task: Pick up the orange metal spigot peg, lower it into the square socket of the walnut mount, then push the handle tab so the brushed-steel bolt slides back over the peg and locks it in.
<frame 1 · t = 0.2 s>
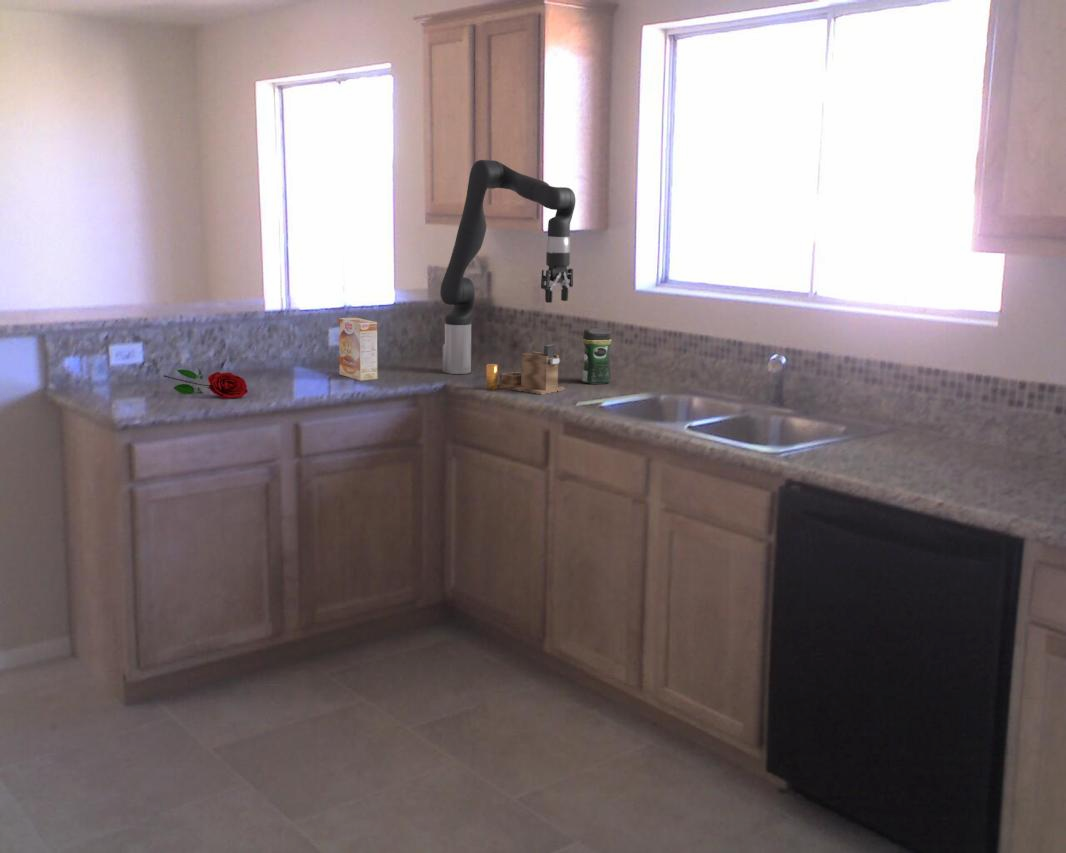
hand: (556, 301, 365), 29 cm above the worktop, fingers open, 8 cm apart
coffeecake box: (358, 377, 385), on the worktop
peg: (491, 389, 368), on the worktop
bolt: (541, 352, 365), point 12 cm above the worktop, slide at 0.0 cm
flower: (203, 395, 347), on the worktop
coffee jar: (595, 383, 385), on the worktop
mount: (523, 387, 372), on the worktop
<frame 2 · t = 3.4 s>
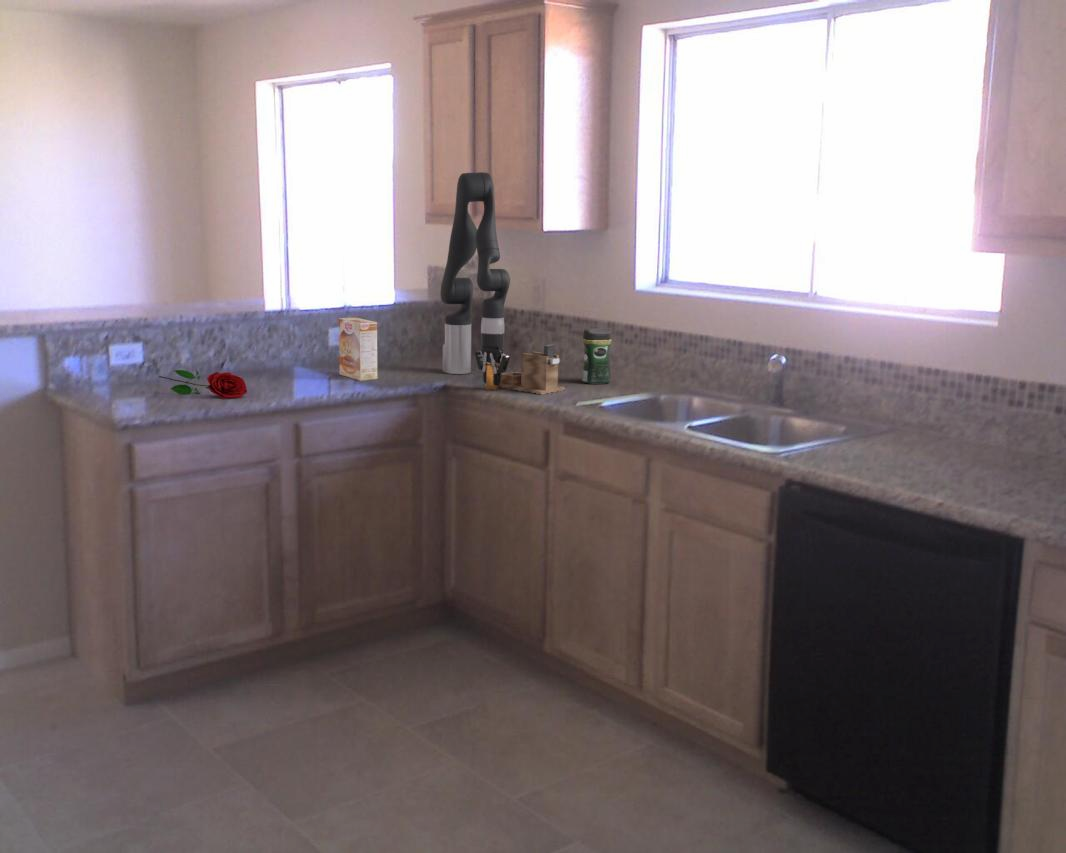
hand: (491, 383, 367), 2 cm above the worktop, fingers closed on peg, 3 cm apart
peg: (491, 389, 368), on the worktop, touching gripper
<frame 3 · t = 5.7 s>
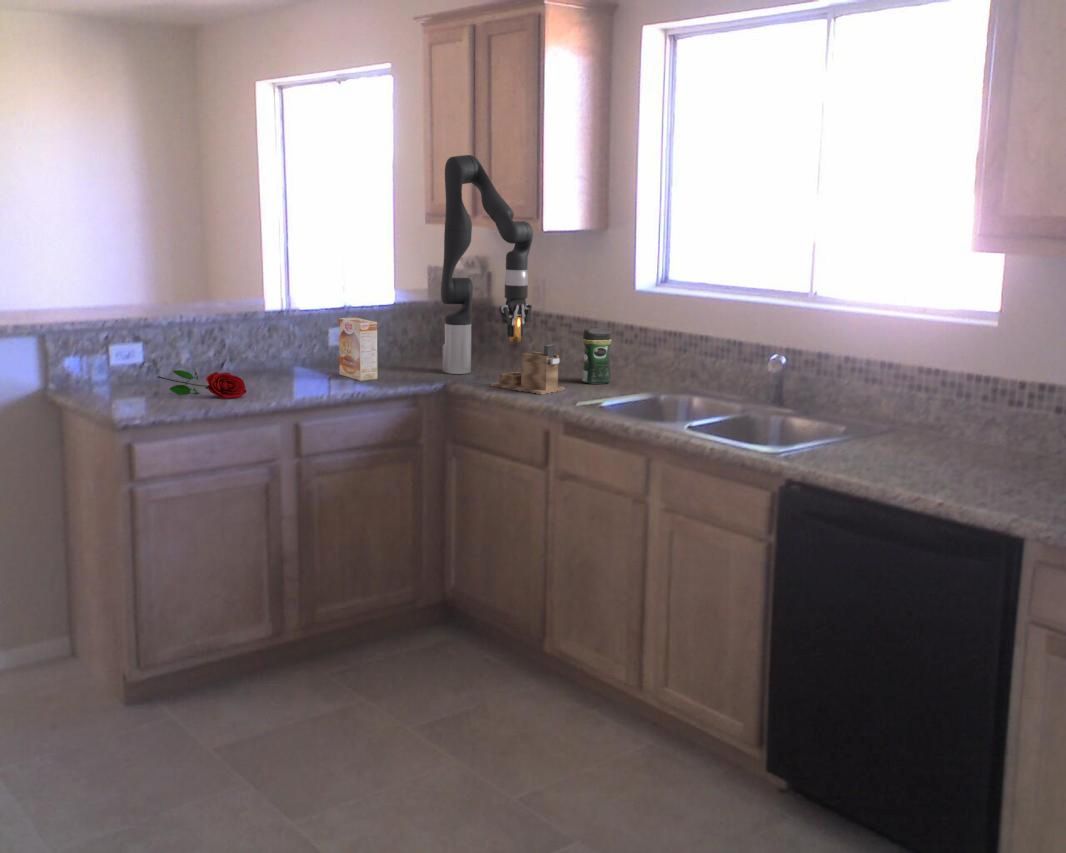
hand: (515, 336, 371), 17 cm above the worktop, fingers closed on peg, 3 cm apart
peg: (515, 341, 371), point 15 cm above the worktop, touching gripper
when the fingers open (5 cm above the worktop, at t = 8.1 s): peg drops 2 cm, resting on mount.
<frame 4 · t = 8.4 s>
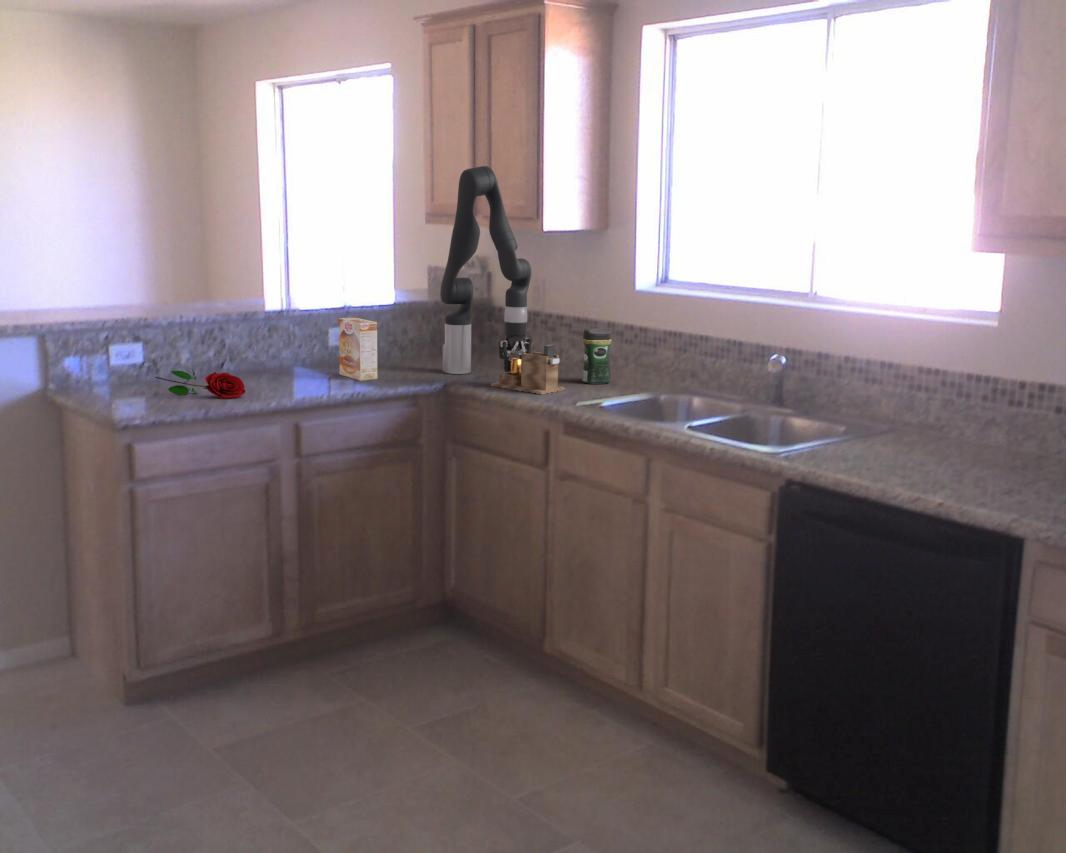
hand: (514, 370, 374), 5 cm above the worktop, fingers open, 6 cm apart
peg: (514, 382, 374), point 1 cm above the worktop, touching mount
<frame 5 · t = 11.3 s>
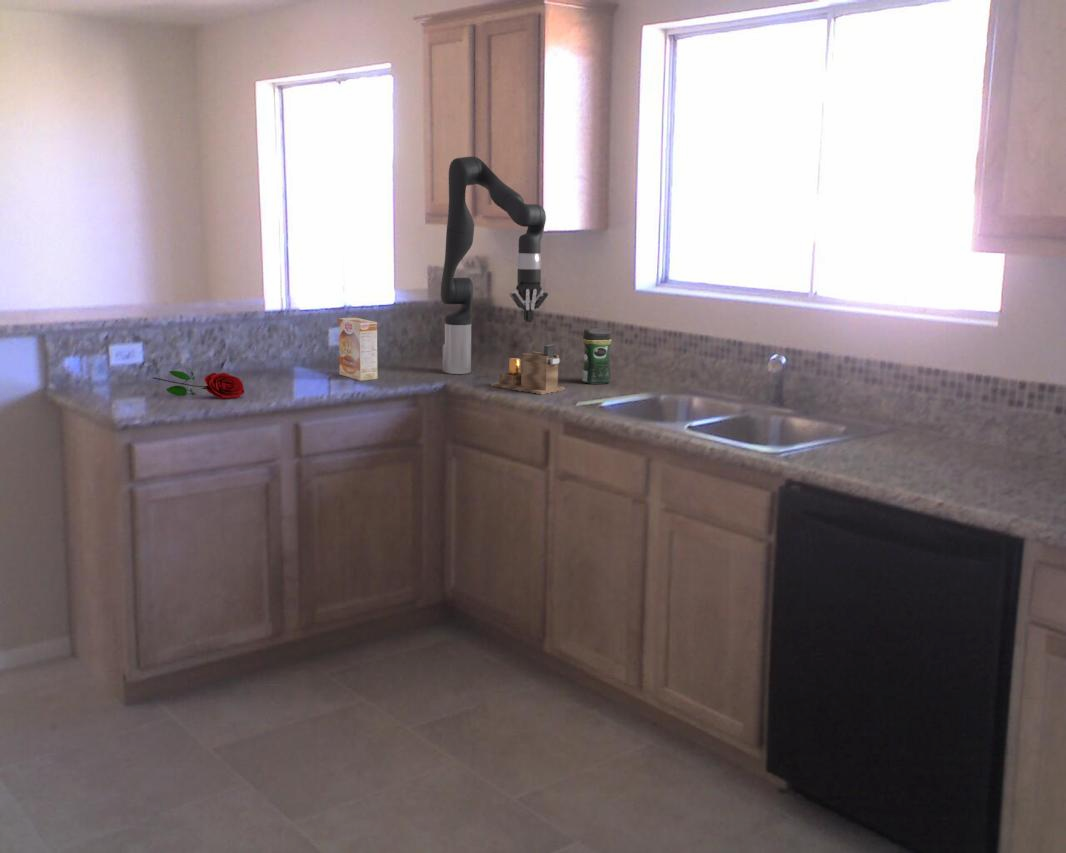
hand: (528, 321, 365), 22 cm above the worktop, fingers closed
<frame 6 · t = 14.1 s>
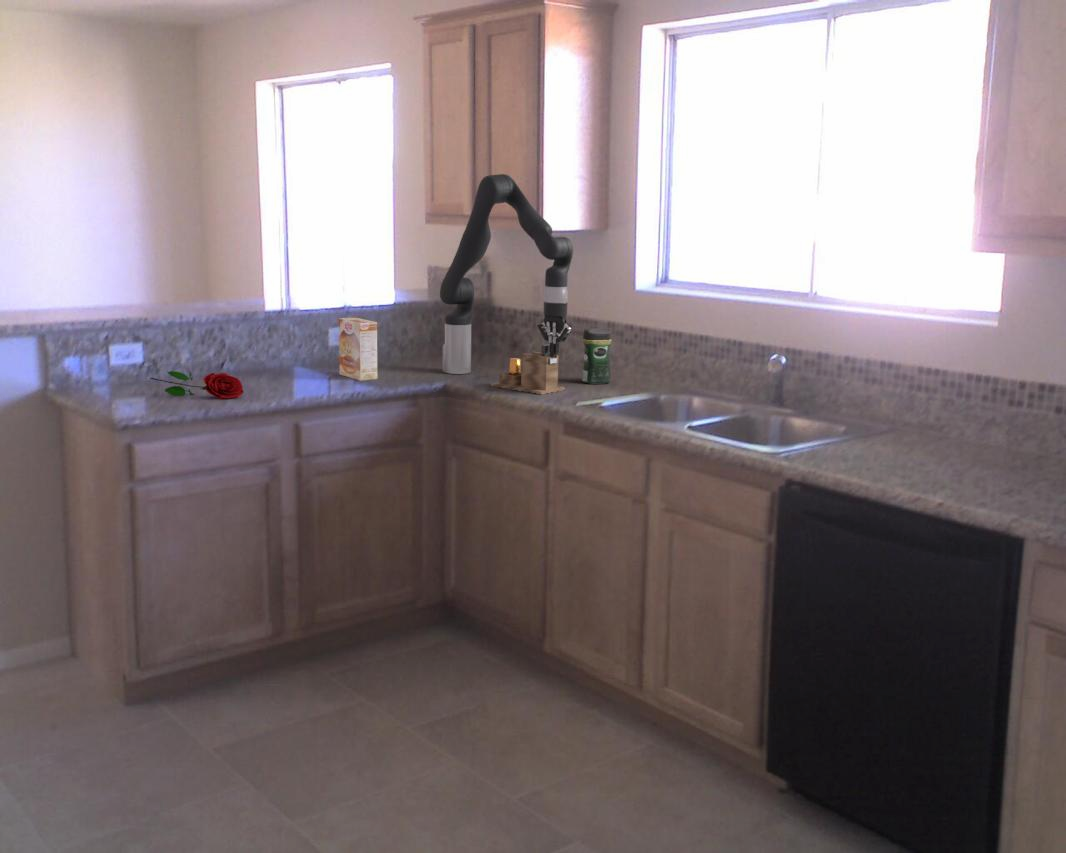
hand: (554, 354, 362), 12 cm above the worktop, fingers closed
bolt: (539, 352, 365), point 12 cm above the worktop, slide at 1.1 cm, touching gripper
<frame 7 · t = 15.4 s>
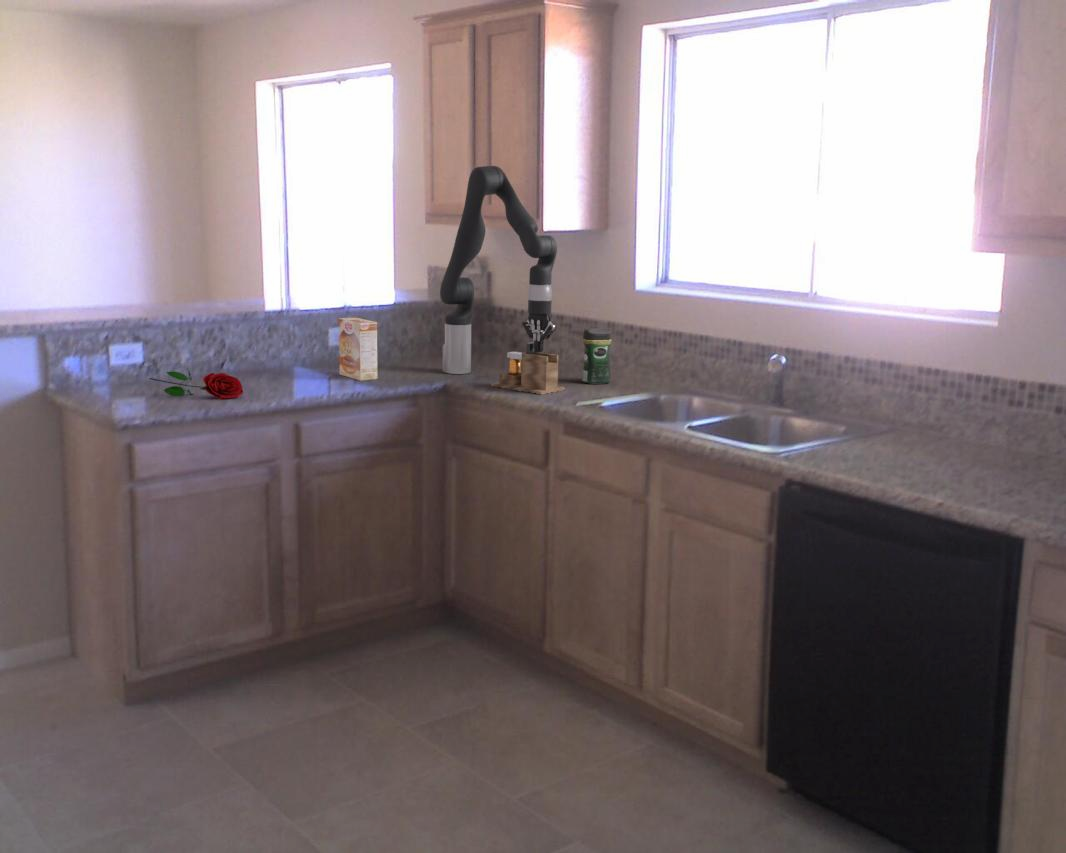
hand: (538, 352, 366), 12 cm above the worktop, fingers closed
bolt: (524, 350, 369), point 12 cm above the worktop, slide at 7.5 cm, touching gripper
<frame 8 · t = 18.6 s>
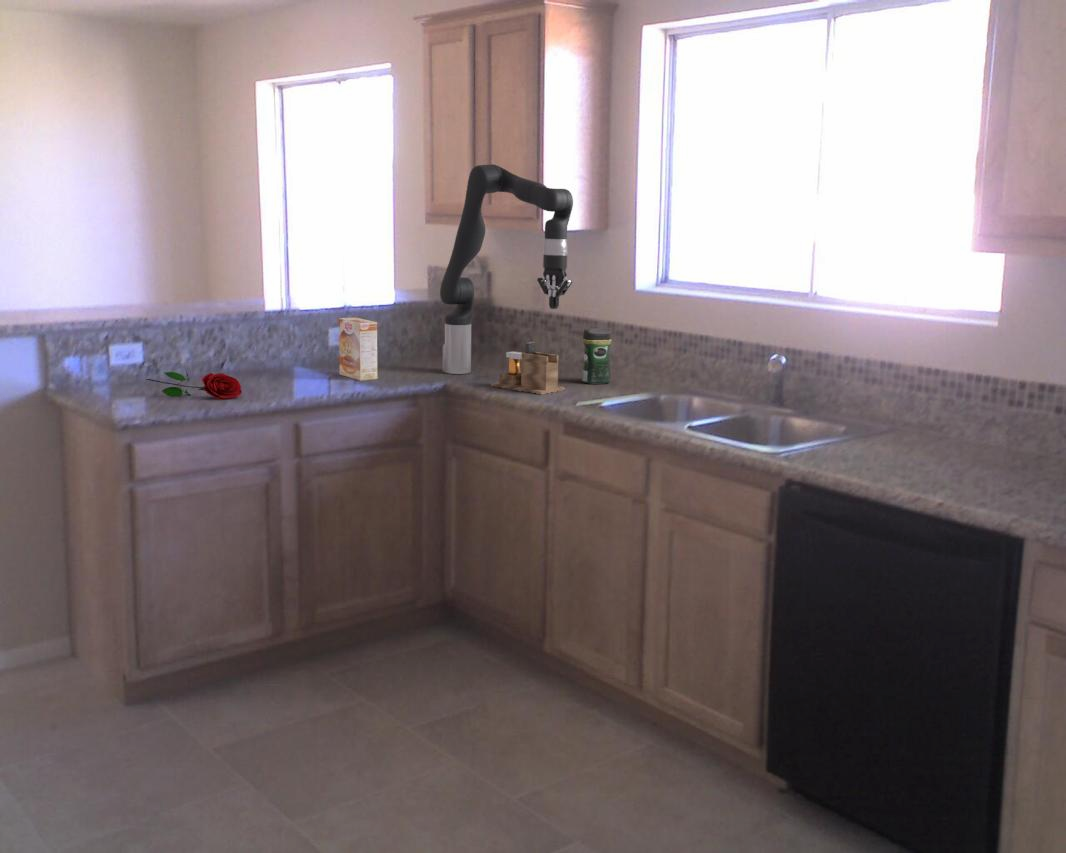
hand: (553, 308, 359), 27 cm above the worktop, fingers closed
bolt: (523, 350, 370), point 12 cm above the worktop, slide at 7.9 cm
at the end: peg 0.0 cm from the target spot on the mount, point 1.0 cm above the mount's base; peg tilted 1°; bolt slide at 7.9 cm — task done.
